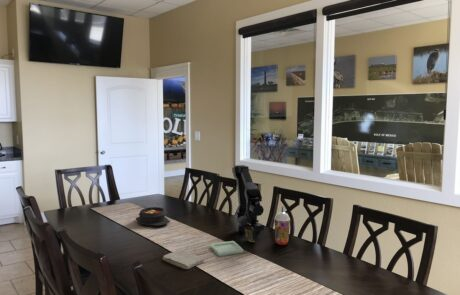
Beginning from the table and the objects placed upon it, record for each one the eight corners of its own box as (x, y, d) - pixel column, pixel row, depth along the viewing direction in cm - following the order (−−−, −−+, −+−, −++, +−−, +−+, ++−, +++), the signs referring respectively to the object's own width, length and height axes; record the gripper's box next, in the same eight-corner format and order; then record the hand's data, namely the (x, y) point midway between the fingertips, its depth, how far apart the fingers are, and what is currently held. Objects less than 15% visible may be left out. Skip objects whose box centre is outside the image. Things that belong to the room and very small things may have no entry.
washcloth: (179, 253, 184) (179, 247, 184) (205, 262, 173) (205, 256, 173) (160, 260, 175) (160, 254, 175) (187, 271, 164) (187, 264, 163)
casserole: (177, 223, 231) (176, 210, 230) (153, 231, 217) (152, 217, 216) (152, 216, 247) (152, 203, 246) (128, 222, 233) (128, 209, 232)
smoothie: (277, 246, 192) (278, 209, 190) (271, 241, 200) (272, 205, 198) (292, 245, 194) (293, 208, 192) (285, 239, 202) (286, 204, 200)
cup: (257, 239, 203) (258, 225, 202) (259, 244, 196) (259, 229, 195) (244, 239, 203) (244, 225, 202) (245, 244, 195) (245, 229, 195)
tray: (210, 247, 191) (210, 243, 191) (233, 244, 196) (233, 240, 196) (218, 256, 179) (218, 253, 179) (243, 252, 184) (243, 249, 184)
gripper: (231, 207, 203) (231, 235, 205) (245, 217, 186) (245, 246, 187) (249, 205, 207) (249, 232, 209) (265, 214, 190) (264, 243, 192)
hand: (251, 238), depth 199 cm, fingers open, 7 cm apart
